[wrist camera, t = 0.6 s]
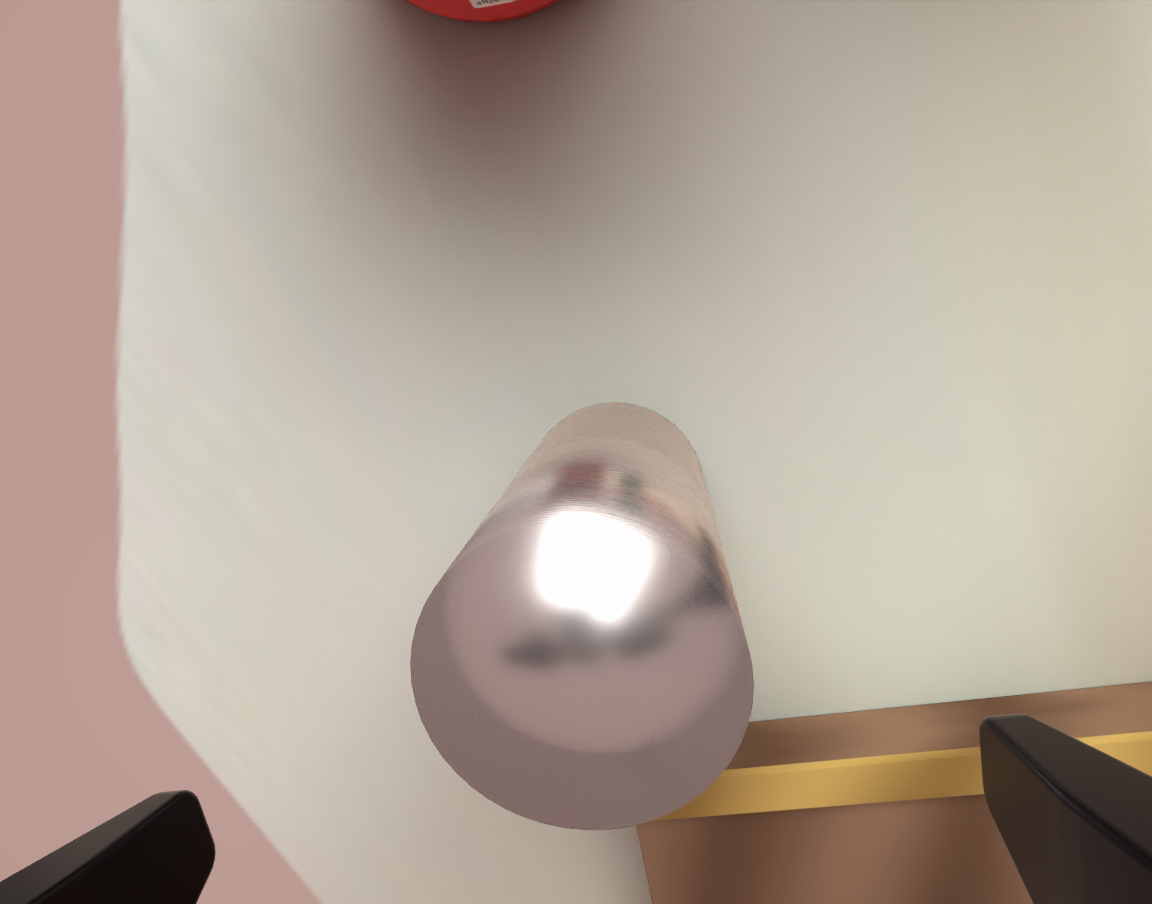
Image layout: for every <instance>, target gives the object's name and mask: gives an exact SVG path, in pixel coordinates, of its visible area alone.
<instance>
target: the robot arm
mask: <svg viewBox="0 0 1152 904" xmlns="http://www.w3.org/2000/svg"><path fill="white" fill-rule="evenodd" d="M979 740H980V753H981V767H982V781H983V789H984V794H985V798H986V802H987V805H988V807H989V810H990V812H991V815H992V817H993V819H994V821H995V823H996V825H997V827H998V830H999V832H1000V834H1001V836H1002V838H1003V840H1004V842H1005V844H1006V846H1007V849H1008V851H1009V853H1010V855H1011V857H1012V859H1013V861H1014V863H1015V865H1016V868H1017V870H1018V872H1019V874H1020V876H1021V878H1022V880H1023V882H1024V884H1025V887H1026V889H1027V891H1028V893H1029V895H1030V897H1031V899H1032V901H1033V903H1034V904H1152V776H1150V775H1148V774H1146V773H1144V772H1142V771H1140V770H1138V769H1136V768H1134V767H1132V766H1130V765H1128V764H1126V763H1124V762H1122V761H1120V760H1118V759H1116V758H1114V757H1112V756H1110V755H1108V754H1106V753H1104V752H1102V751H1100V750H1098V749H1096V748H1094V747H1092V746H1090V745H1088V744H1086V743H1084V742H1082V741H1080V740H1078V739H1076V738H1074V737H1072V736H1070V735H1068V734H1066V733H1064V732H1062V731H1060V730H1058V729H1056V728H1054V727H1052V726H1050V725H1048V724H1046V723H1044V722H1042V721H1040V720H1038V719H1036V718H1034V717H1031V716H1029V715H1026V714H1008V715H998V716H987V717H985V718H984V719H983V720H982V721H981V722H980V726H979ZM214 860H215V844H214V841H213V838H212V835H211V832H210V830H209V827H208V824H207V821H206V818H205V816H204V813H203V811H202V807H201V805H200V802H199V800H198V798H197V796H196V795H195V794H194V793H192V792H191V791H187V790H181V791H170V792H161V793H157V794H155V795H152V796H150V797H149V798H147V799H145V800H143V801H142V802H140V803H138V804H136V805H135V806H133V807H131V808H129V809H128V810H126V811H124V812H122V813H121V814H119V815H117V816H115V817H114V818H112V819H110V820H108V821H107V822H105V823H103V824H101V825H99V826H98V827H96V828H94V829H93V830H91V831H89V832H87V833H85V834H84V835H82V836H80V837H78V838H77V839H75V840H73V841H71V842H70V843H68V844H66V845H64V846H63V847H61V848H59V849H57V850H56V851H54V852H52V853H50V854H48V855H47V856H45V857H43V858H42V859H40V860H38V861H36V862H35V863H33V864H31V865H29V866H27V867H26V868H24V869H22V870H20V871H19V872H17V873H15V874H13V875H12V876H10V877H8V878H6V879H5V880H3V881H1V882H0V904H196V903H197V900H198V898H199V896H200V894H201V892H202V890H203V888H204V885H205V883H206V881H207V879H208V877H209V875H210V872H211V870H212V868H213V864H214Z"/></svg>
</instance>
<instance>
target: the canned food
mask: <svg viewBox="0 0 1152 904" xmlns="http://www.w3.org/2000/svg"><path fill="white" fill-rule="evenodd" d="M407 1H408V2H410V3H412V4H414V5H416V6H418V7H419V8H421V9H423V10H425V11H427V12H431V13H434V14H438V15H441V16H445V17H449V18H452V19H456V20H461V21H468V22H489V23H496V22H501V21H507V20H513V19H518V18H523V17H525V16H528V15H530V14H533V13H535V12H538V11H540V10H543V9H545V8H547V7H550V6H551V5H553V4H554V3H556V2H557V1H559V0H407Z"/></svg>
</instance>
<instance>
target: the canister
mask: <svg viewBox="0 0 1152 904" xmlns="http://www.w3.org/2000/svg"><path fill="white" fill-rule="evenodd" d="M410 665H411V681H412V688H413V693H414V698H415V702H416V705H417V708H418V711H419V714H420V717H421V720H422V722H423V724H424V726H425V728H426V730H427V732H428V734H429V736H430V738H431V740H432V742H433V743H434V745H435V746H436V748H437V749H438V751H439V752H440V754H441V755H442V757H443V758H444V759H445V760H446V761H447V763H448V764H449V765H450V766H451V767H452V768H453V770H454V771H455V772H456V773H457V774H458V775H459V776H460V777H462V778H463V779H464V780H465V781H466V782H467V783H468V784H469V785H470V786H471V787H473V788H474V789H475V790H477V791H478V792H480V793H481V794H482V795H484V796H485V797H486V798H488V799H489V800H491V801H493V802H495V803H496V804H498V805H500V806H502V807H503V808H505V809H507V810H509V811H512V812H514V813H516V814H518V815H521V816H523V817H525V818H528V819H531V820H535V821H538V822H541V823H544V824H548V825H553V826H558V827H563V828H571V829H582V830H609V829H616V828H623V827H630V826H634V825H638V824H642V823H646V822H649V821H652V820H655V819H657V818H660V817H662V816H665V815H667V814H670V813H671V812H673V811H675V810H677V809H679V808H681V807H682V806H684V805H686V804H688V803H689V802H690V801H692V800H693V799H695V798H696V797H697V796H699V795H700V794H701V793H703V792H704V791H705V790H706V789H707V788H708V787H709V786H710V785H711V784H712V783H713V782H714V781H715V780H717V779H718V777H719V776H720V775H721V774H722V772H723V771H724V770H725V769H726V767H727V766H728V765H729V763H730V762H731V760H732V759H733V757H734V755H735V753H736V752H737V750H738V748H739V746H740V745H741V742H742V739H743V737H744V734H745V732H746V729H747V727H748V723H749V718H750V714H751V709H752V703H753V689H754V683H753V670H752V662H751V658H750V654H749V649H748V645H747V641H746V637H745V633H744V630H743V626H742V622H741V618H740V614H739V611H738V607H737V603H736V599H735V595H734V592H733V588H732V584H731V580H730V576H729V573H728V569H727V565H726V561H725V558H724V554H723V550H722V546H721V542H720V539H719V535H718V531H717V527H716V523H715V520H714V516H713V512H712V508H711V504H710V501H709V497H708V493H707V489H706V485H705V482H704V478H703V474H702V470H701V467H700V463H699V460H698V458H697V455H696V453H695V451H694V449H693V447H692V445H691V444H690V442H689V441H688V439H687V438H686V437H685V435H684V434H683V433H682V432H681V431H680V430H679V429H678V428H677V427H676V426H675V425H674V424H673V423H671V422H670V421H669V420H668V419H666V418H665V417H663V416H661V415H660V414H658V413H656V412H654V411H652V410H650V409H647V408H645V407H641V406H638V405H634V404H628V403H602V404H596V405H592V406H588V407H585V408H583V409H580V410H578V411H576V412H574V413H572V414H570V415H568V416H567V417H565V418H564V419H563V420H561V421H560V422H559V423H558V424H557V425H555V426H554V427H553V428H552V429H551V430H550V432H549V433H548V434H547V435H546V437H545V438H544V439H543V441H542V442H541V443H540V445H539V446H538V447H537V449H536V450H535V451H534V453H533V454H532V456H531V457H530V458H529V460H528V461H527V462H526V464H525V465H524V466H523V468H522V469H521V471H520V472H519V473H518V475H517V476H516V477H515V479H514V480H513V481H512V483H511V484H510V486H509V487H508V488H507V490H506V491H505V492H504V494H503V495H502V496H501V498H500V499H499V501H498V502H497V503H496V505H495V506H494V507H493V509H492V510H491V511H490V513H489V514H488V516H487V517H486V518H485V520H484V521H483V522H482V524H481V525H480V526H479V528H478V529H477V531H476V532H475V533H474V535H473V536H472V537H471V539H470V540H469V541H468V543H467V544H466V546H465V547H464V548H463V550H462V551H461V552H460V554H459V555H458V556H457V558H456V559H455V561H454V562H453V563H452V565H451V566H450V567H449V569H448V570H447V571H446V573H445V574H444V576H443V577H442V578H441V580H440V581H439V582H438V584H437V585H436V586H435V588H434V589H433V591H432V593H431V594H430V596H429V598H428V600H427V601H426V603H425V605H424V607H423V609H422V612H421V615H420V617H419V620H418V622H417V625H416V629H415V633H414V638H413V642H412V651H411V663H410Z"/></svg>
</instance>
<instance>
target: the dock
mask: <svg viewBox="0 0 1152 904" xmlns="http://www.w3.org/2000/svg"><path fill="white" fill-rule="evenodd" d="M1008 714H1026V715H1029V716H1031V717H1034V718H1036V719H1038V720H1040V721H1042V722H1044V723H1046V724H1048V725H1050V726H1052V727H1054V728H1056V729H1058V730H1060V731H1062V732H1064V733H1066V734H1068V735H1070V736H1072V737H1074V738H1076V739H1078V740H1080V741H1082V742H1084V743H1086V744H1088V745H1090V746H1092V747H1094V748H1096V749H1098V750H1100V751H1102V752H1104V753H1106V754H1108V755H1110V756H1112V757H1114V758H1116V759H1118V760H1120V761H1122V762H1124V763H1126V764H1128V765H1130V766H1132V767H1134V768H1136V769H1138V770H1140V771H1142V772H1144V773H1146V774H1148V775H1150V776H1152V682H1144V683H1134V684H1124V685H1115V686H1105V687H1095V688H1085V689H1075V690H1065V691H1055V692H1045V693H1035V694H1025V695H1015V696H1005V697H995V698H986V699H976V700H966V701H956V702H946V703H936V704H926V705H916V706H906V707H896V708H886V709H876V710H867V711H857V712H847V713H837V714H827V715H817V716H807V717H797V718H787V719H777V720H767V721H757V722H749V723H748V727H747V729H746V732H745V734H744V737H743V739H742V742H741V745H740V746H739V748H738V750H737V752H736V753H735V755H734V757H733V759H732V760H731V762H730V763H729V765H728V766H727V767H726V769H725V770H724V771H723V772H722V774H721V775H720V776H719V777H718V779H717V780H715V781H714V782H713V783H712V784H711V785H710V786H709V787H708V788H707V789H706V790H705V791H704V792H703V793H701V794H700V795H699V796H697V797H696V798H695V799H693V800H692V801H690V802H689V803H688V804H686V805H684V806H682V807H681V808H679V809H677V810H675V811H673V812H671V813H670V814H667V815H665V816H662V817H660V818H657V819H655V820H652V821H649V822H646V823H642V824H638V825H637V830H638V835H639V839H640V844H641V849H642V854H643V859H644V864H645V869H646V874H647V879H648V883H649V888H650V893H651V898H652V903H653V904H1034V903H1033V901H1032V899H1031V897H1030V895H1029V893H1028V891H1027V889H1026V887H1025V884H1024V882H1023V880H1022V878H1021V876H1020V874H1019V872H1018V870H1017V868H1016V865H1015V863H1014V861H1013V859H1012V857H1011V855H1010V853H1009V851H1008V849H1007V846H1006V844H1005V842H1004V840H1003V838H1002V836H1001V834H1000V832H999V830H998V827H997V825H996V823H995V821H994V819H993V817H992V815H991V812H990V810H989V807H988V805H987V802H986V798H985V794H984V789H983V781H982V767H981V753H980V740H979V726H980V722H981V721H982V720H983V719H984V718H985V717H987V716H998V715H1008Z"/></svg>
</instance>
